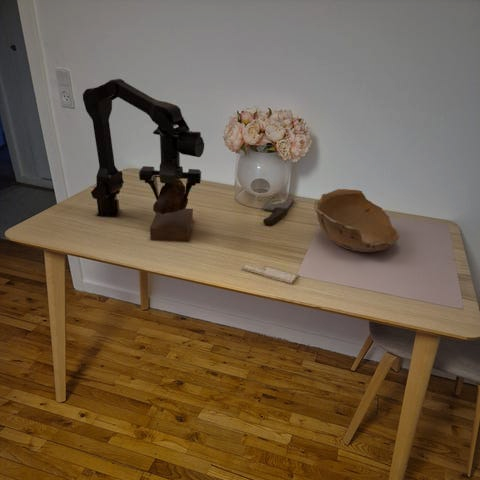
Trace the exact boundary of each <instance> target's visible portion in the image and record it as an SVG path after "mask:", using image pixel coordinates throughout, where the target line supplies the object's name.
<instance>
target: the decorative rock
mask: <svg viewBox="0 0 480 480" xmlns="http://www.w3.org/2000/svg"><path fill="white" fill-rule="evenodd" d="M185 190H186V185H185V184H184V182H183V181H182V179H176V183H175V184H171V183H164V185H162V186H161V188H160V191H159V192H158V193H159V196H158V200H155V202H154V204H153V205H152V206H153V207H152V208H153V209H152V210H153V213H155V214H156V213H157V214H161V215H162V214H165V213H173V212H177V211H179V210H182V209H187V207H188V202H189V198H188V197H187V201H186V203H185Z"/></svg>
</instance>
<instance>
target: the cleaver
mask: <svg viewBox="0 0 480 480" xmlns="http://www.w3.org/2000/svg"><path fill="white" fill-rule="evenodd" d="M286 198H287V200H286V201H285V202H283V203H278V204H271V203H274V202H277V201H281V200H271V198H270V199H268V200H267V201H266V202H265V203H264V205H263V207H262V208H261V209H262V210H264V211H268V212H269V211H270V212H272V213H271V214H269V216H267V217H265V218H264V219H263V220H262V222H263V224H264V225H268V226H269V225H273V224H275V223H276V222H278V221H279V220H281V219H282V218H283V217H284V216H285V215H286V214H287V212H288V210H289V208H291V206H292V205H293V203H294V200H295V199H294V198H292V197H286Z"/></svg>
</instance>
